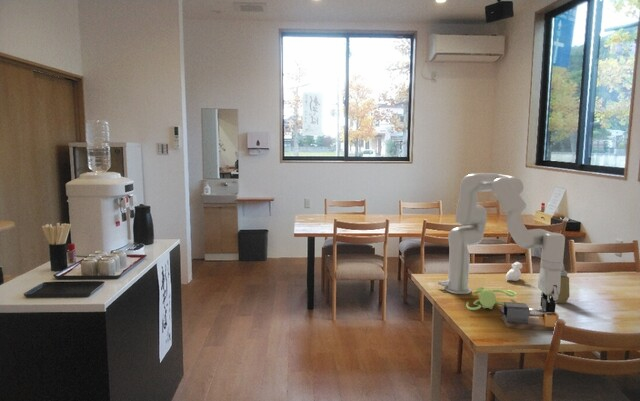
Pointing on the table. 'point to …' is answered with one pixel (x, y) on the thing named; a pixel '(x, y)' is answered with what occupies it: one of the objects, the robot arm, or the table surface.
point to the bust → (514, 272)
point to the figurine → (488, 298)
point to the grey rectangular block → (540, 311)
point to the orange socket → (549, 319)
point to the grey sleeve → (516, 313)
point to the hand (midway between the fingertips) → (547, 308)
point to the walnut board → (529, 325)
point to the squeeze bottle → (563, 287)
